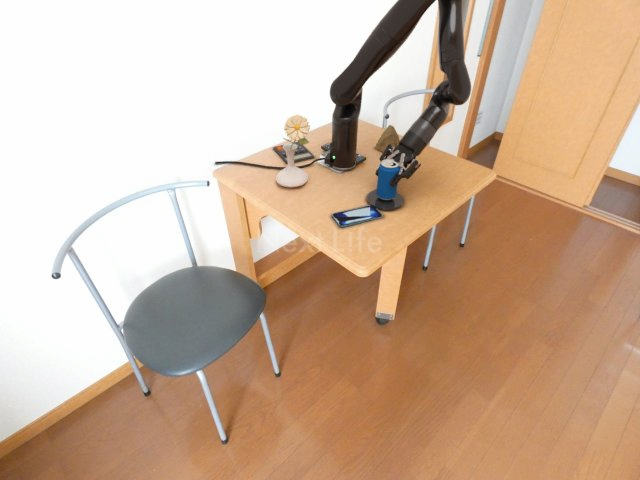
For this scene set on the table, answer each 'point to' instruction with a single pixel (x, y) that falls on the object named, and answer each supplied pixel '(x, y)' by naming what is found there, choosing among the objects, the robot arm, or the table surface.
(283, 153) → the calculator
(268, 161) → the table surface
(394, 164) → the beverage can
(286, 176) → the flower in vase
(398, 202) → the metal coaster
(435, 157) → the table surface
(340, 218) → the smartphone
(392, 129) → the rock
